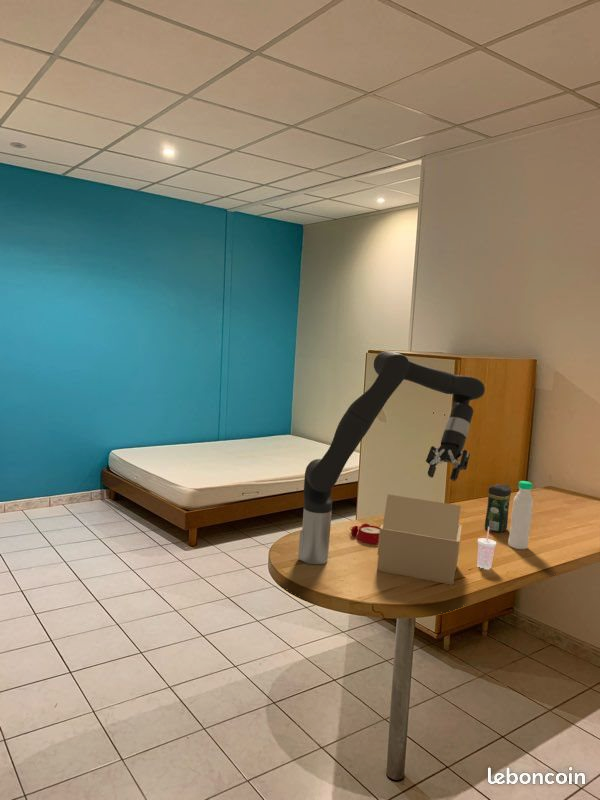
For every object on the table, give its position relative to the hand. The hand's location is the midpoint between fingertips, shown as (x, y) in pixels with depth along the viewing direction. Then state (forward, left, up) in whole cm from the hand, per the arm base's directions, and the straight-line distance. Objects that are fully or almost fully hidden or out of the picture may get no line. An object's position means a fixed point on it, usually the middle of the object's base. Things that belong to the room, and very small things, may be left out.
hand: (441, 478), depth 199 cm
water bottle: (+29, +38, -31) cm, 56 cm away
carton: (-4, -2, -30) cm, 31 cm away
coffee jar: (+21, +56, -31) cm, 67 cm away
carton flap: (-4, -9, -11) cm, 15 cm away
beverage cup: (+17, +10, -31) cm, 36 cm away
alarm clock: (-25, +18, -31) cm, 44 cm away
